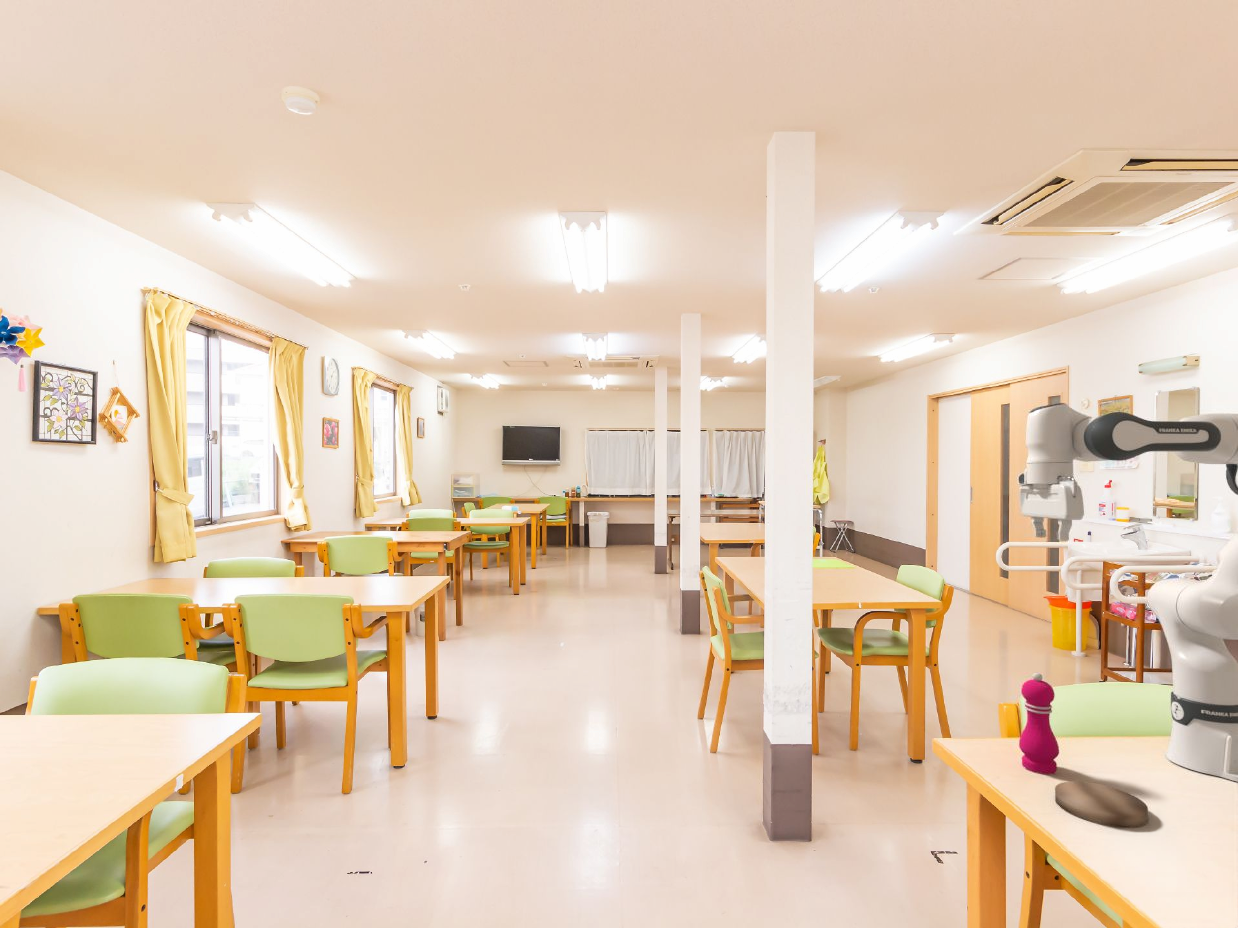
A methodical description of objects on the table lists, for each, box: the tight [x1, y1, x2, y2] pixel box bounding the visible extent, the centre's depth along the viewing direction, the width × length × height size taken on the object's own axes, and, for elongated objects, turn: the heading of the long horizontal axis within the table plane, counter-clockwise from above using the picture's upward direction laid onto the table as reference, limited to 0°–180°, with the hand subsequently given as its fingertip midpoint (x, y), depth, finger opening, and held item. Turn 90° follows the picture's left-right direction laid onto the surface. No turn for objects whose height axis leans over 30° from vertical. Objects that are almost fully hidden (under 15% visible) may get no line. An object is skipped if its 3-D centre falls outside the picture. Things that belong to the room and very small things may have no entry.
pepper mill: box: [1018, 672, 1060, 775], centre depth 144 cm, size 7×7×20 cm
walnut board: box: [1054, 780, 1149, 829], centre depth 125 cm, size 14×14×2 cm
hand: (1051, 538), depth 150 cm, fingers open, 8 cm apart
